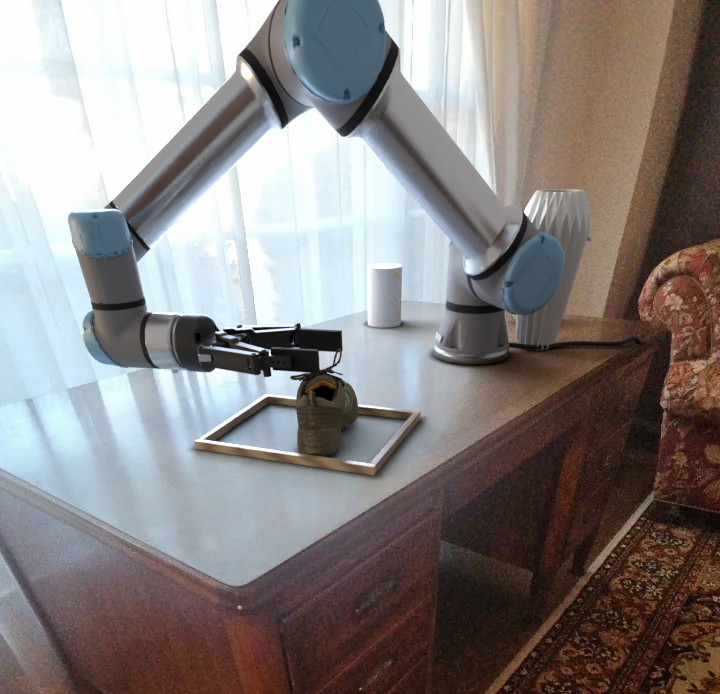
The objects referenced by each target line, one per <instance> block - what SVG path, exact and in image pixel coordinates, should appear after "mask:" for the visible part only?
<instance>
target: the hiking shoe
mask: <svg viewBox="0 0 720 694" xmlns="http://www.w3.org/2000/svg"><path fill="white" fill-rule="evenodd" d="M341 351H342V350H341V348H340V349H338V350H337V352H335V354H334V356H333V361H332V364H331V365H330V366H327V367H325V368H322V369H320V372H319V373H308V372H303V373H301V374H295V375H291V376H289V379H290V380H292V381H299V382H300V384H299V386H298V389H297V393H296V396H295V397H296V406H295V411H296V412H295V415H296V417H297V434H296V442H297V443H296V444H297V451H298V453H300V454H307V455H314V456H321V457H328V456H332V455H335V454H336V453H337V452H338V451H339V450H340V448H341V442H342V430H343V429H344V430H345V429H346V428H347V427H350V426H352V425H353V424H354V423H355V422H357V419H358V415H359V414H358V404H359V402H358V397H357V394H356V392H355V390H354V388H353V386H352V385H351V383H349V382H347V381H345V380H344V379H342V377H339V376H344V374H343V373H341V372H338V371H335V370H333V368H335V367H337V366H338V364H340V363H341V360H342V357H343V351H342V352H341ZM338 354H339V357H338ZM337 357H338V360H337V362H336V359H337ZM333 374H337V375H339V376H336V375H333Z"/></svg>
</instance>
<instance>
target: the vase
mask: <svg viewBox="0 0 720 694" xmlns="http://www.w3.org/2000/svg"><path fill="white" fill-rule="evenodd" d="M523 212H524V213H525V214H526V216H527V217H528V218H529V220H530V221H531V222H532V224H533V225H534V226H535V227H536V229H537V230H538V231H539V232H541V233H548V234H551V236H553V237H555V238H556V239H557V240H558V241H559V242H560V244H561V246H562V248H563V251H564V258H565V265H564V268H563V272H562V274H563V276H562V280H561V282H560V285H559V287H558V289H557V291H556V293H555V294H554V296H553V297H552V299H551V300H550V301H549V302H548V303H547V304H546V305H545V306H544V307H543V308H542V309H540V310H539V311H537V312H535V313H532V314H529V315H518V314H517V315H516V322H515V335H514V336H515V339H514V343H520V344H528V345H537V347H538V346H539V345H541V346H542V349H540V350H538V349H536V350H535V351H544V350H546V351H547V350H550V349H552V348H550V349H548V347H549V344H553V343H556V342H557V341H556V340H557V338H558V334H559V331H560V328H561V325H562V322H563V318H564V316H565V312H566V309H567V305H568V302H569V299H570V295H571V292H572V289H573V287H574V282H575V280H576V278H577V277H576V276H577V273H578V270H579V267H580V264H581V260H582V258H583V253H584V251H585V248H586V244H587V241H588V238H589V234H590V232H591V207H590V204H589V200H588V197H587V192H586V190H584V189H578V188H577V189H576V188H575V189H573V188H551V189H550V188H549V189H537V190H535V192H534V193H533V195H532V197H531V198H530V200H529V201H528V203H527V204H526V207H525V208H524V210H523ZM544 345H546V346H547V348H546V349H543V348H544ZM524 350H525V351H526V350H527V349H524ZM528 350H529V351H531V350H530V349H528Z"/></svg>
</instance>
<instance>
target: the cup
mask: <svg viewBox="0 0 720 694" xmlns="http://www.w3.org/2000/svg"><path fill="white" fill-rule="evenodd" d="M366 267H367V268H366V275H367V276H366V277H367V278H366V280H367V290H366V291H367V325H368V326H369V327H371V328H372V327H373V328H381V329H382V328H383V329H384V328H394V327H399V326H400V325H402V295H403V293H402V291H403V290H402V289H403V265H402V264H400V263H393V262H381V263H372V264H368V265H367V266H366Z"/></svg>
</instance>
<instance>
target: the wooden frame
mask: <svg viewBox="0 0 720 694" xmlns="http://www.w3.org/2000/svg"><path fill="white" fill-rule="evenodd" d="M296 397H297V396H288V395H280V394H279V395H277V394H269V393H264V394H263V395H262V396H260V397H259V398H257V399H256V400H254V401H252V402H251V403H249V404H248V405H246V406H245V407H244V408H242V409H241V410H239V411H238V412H236V413H235V414H233V415H232V416H230V417H228V418H227V419H225V420H224V421H223V422H221V423H220V424H218V425H216V426H215V427H214V428H212V429H210V430H209V431H208V432H206V433H205V434H203V435H201V436H200V437H198V438H197V439H196V440H194V441H193V442H194V446H195V450H201V451H205V452H213V453H220V454H226V455H227V454H228V455H233V456H241V457H246V458H247V457H248V458H253V459H260V460H267V461H274V462H280V463H286V464H293V465H300V466H306V467H307V466H308V467H314V468H320V469H327V470H333V471H341V472H345V473H346V472H347V473H353V474H360V475H366V476H372V477H373V476H375V475H376V474H377V472H378V471H379V470H380V469H381V468H382V466H383V465H384V464H385V463H386V461H388V460H389V458H390V457H391V456H392V455H393V453H394V452H395V451H396V449H397V448H398V447H399V445H400V444H402V442H403V441H405V439H406V437H407V436H409V434H410V432H411V431H412V430H413V429H414V427H415V426H416V425H417V424H418V422H420V420H421V419H422V418H421V417H422V412H421V411H419V410H411V409H403V408H394V407H385V406H375V405H367V404H359V403H358V415H366V416H373V417H374V416H375V417H382V418H392V419H399V420H405V422H404V423H403V424H402V425H401V426H400V428H399V429H398V430H397V431H396V432H395V433H394V434H393V435H392V437H391V438H389V440H388V442H386V444H385V445H384V446H383V447H382V448H381V449H380V451H379V452H378V453H377V454H376V455H375V456H374V458H373V459H372V460H371V461H370V462H369V463H368V462H362V461H355V460H348V459H341V458H334V457H328V456H314V455H307V454H300V453H299V452H291V451H287V450H286V451H285V450H278V449H272V448H264V447H257V446H251V445H243V444H238V443H230V442H223V441H216V440H218V439H219V438H220V437H222V436H223V435H225V434H226V433H228V432H229V431H231V430H232V429H233V428H235V427H237V426H238V425H240V424H241V423H242V422H244V421H245V420H247V419H248V418H249V417H251V416H253V415H255V413H257V412H258V411H259V410H261V409H262V408H264V407H265V406H267V405H268V404H274V405H280V406H281V405H282V406H289V407H296Z"/></svg>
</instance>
